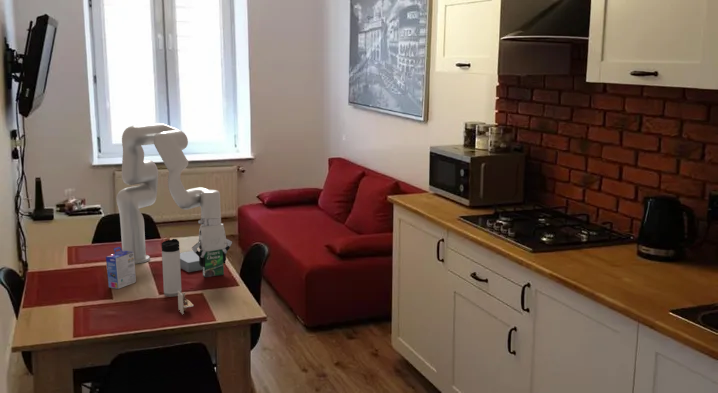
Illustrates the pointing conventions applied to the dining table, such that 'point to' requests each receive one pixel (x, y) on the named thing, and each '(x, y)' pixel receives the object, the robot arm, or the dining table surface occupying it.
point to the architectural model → (181, 302)
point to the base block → (190, 261)
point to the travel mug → (171, 267)
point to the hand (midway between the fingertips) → (212, 264)
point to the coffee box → (213, 263)
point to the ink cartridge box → (120, 268)
